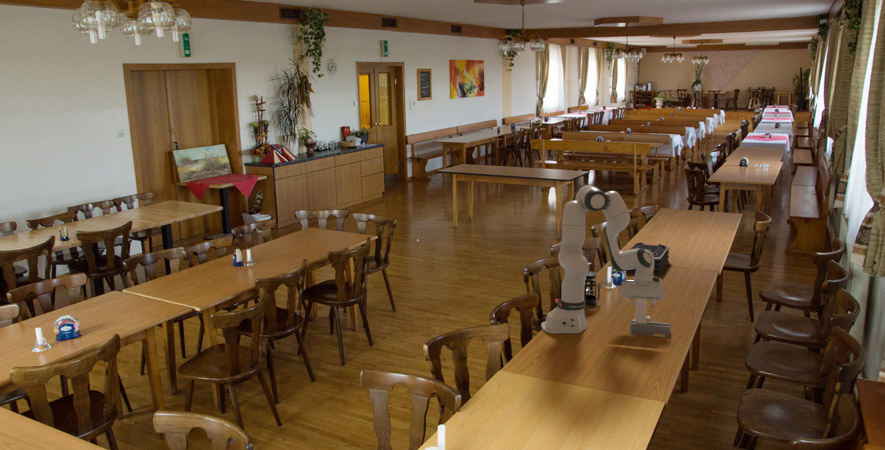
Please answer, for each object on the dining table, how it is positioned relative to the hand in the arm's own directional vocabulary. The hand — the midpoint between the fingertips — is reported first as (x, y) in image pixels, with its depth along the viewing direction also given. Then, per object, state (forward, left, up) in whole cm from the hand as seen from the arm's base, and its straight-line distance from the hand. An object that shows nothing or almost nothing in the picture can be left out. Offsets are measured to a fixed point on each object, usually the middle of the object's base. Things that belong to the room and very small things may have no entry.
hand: (641, 306), depth 323 cm
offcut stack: (+1, +3, -11) cm, 12 cm away
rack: (+3, -3, -12) cm, 13 cm away
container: (+49, +103, -13) cm, 115 cm away
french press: (-11, +44, -13) cm, 47 cm away
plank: (-1, -2, -11) cm, 12 cm away
